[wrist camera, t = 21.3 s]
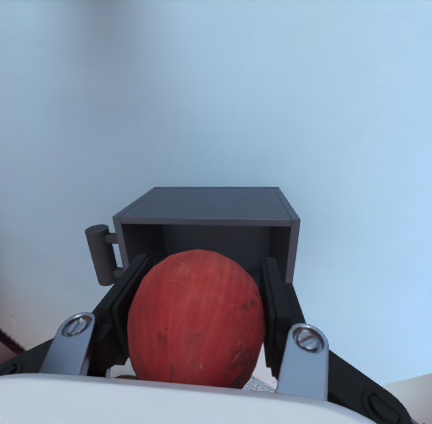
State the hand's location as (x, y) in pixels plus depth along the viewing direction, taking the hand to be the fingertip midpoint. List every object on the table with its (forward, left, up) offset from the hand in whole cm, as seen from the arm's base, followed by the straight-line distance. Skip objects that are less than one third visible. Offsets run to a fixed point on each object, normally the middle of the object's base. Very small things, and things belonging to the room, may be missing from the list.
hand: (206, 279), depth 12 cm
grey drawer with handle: (-5, 0, -14) cm, 15 cm away
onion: (0, 0, -1) cm, 1 cm away
